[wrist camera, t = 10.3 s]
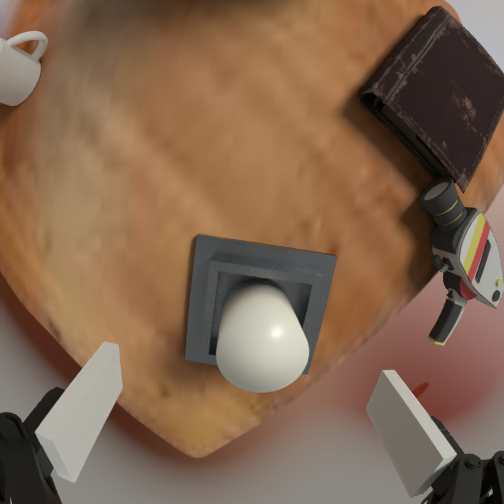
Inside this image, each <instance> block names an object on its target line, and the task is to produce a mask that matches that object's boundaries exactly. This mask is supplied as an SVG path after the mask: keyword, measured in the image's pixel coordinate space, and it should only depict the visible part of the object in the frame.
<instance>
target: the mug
mask: <svg viewBox="0 0 504 504" xmlns="http://www.w3.org/2000/svg"><path fill="white" fill-rule="evenodd" d="M29 40H39V44H38V47H37V49H36V50H35V52H34V53H33V54H32V55H30V54H28V53H27V52H25V51H23V50H21V49H20V48H18V47H16V46H15V45H17V44H20V43H22V42H25V41H29ZM47 45H48V40H47V37H46V36H45V35H44V34H43V33H42V32H39V31H29V32H25V33H21V34H19V35H16V36H14V37H12V38H10V39H9V40H7V41H6V40H4V39H2V38H0V103H3V104H6V105H9V106H16V105H19V104H20V103H22V102H23V101H24V100H26V99H27V98H28V96H29V95H30V94H31V93H32V91H33V90H34V88H35V86H36V84H37V82H38V80H39V77H40V73H41V64H40V62H39V59H40V57H41V56H42V55H43V53H44V52H45V50H46V48H47Z"/></svg>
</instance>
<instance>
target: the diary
mask: <svg viewBox="0 0 504 504" xmlns="http://www.w3.org/2000/svg"><path fill="white" fill-rule="evenodd" d="M357 100H358V102H359V103H360V104H362V105H363V106H364V107H365V108H366V109H367V110H368V111H370V112H371V113H372V114H373V115H374V116H375V117H376V118H377V119H378V120H379V121H380V122H381V123H382V124H383V125H384V126H386V127H387V128H388V129H389V130H390V131H391V132H392V133H393V134H394V135H395V136H396V137H397V138H398V139H399V140H400V141H401V142H402V143H403V145H404V146H405V147H406V148H407V149H408V150H409V151H410V152H411V153H412V154H413V155H414V156H415V157H416V158H417V160H418V161H419V162H420V163H421V164H422V165H423V166H424V167H425V168H426V170H427V171H428V172H429V173H430V174H431V175H432V176H433V177H434V178H435V180H436V181H437V180H439V179H441V178H444V177H451V178H452V179H453V182H454V184H455V183H457V184H458V186H459V187H460V189H461V191H462V193H464V192H465V190H466V188H467V187H468V185H469V183H470V181H471V179H472V177H473V175H474V173H475V171H476V169H477V167H478V165H479V163H480V161H481V159H482V157H483V155H484V153H485V151H486V149H487V146H488V144H489V142H490V140H491V137H492V135H493V133H494V131H495V129H496V127H497V124H498V122H499V120H500V118H501V116H502V114H503V111H504V73H503V72H502V71H501V69H500V68H499V67H498V65H497V64H496V62H495V61H494V60H493V59H492V57H491V56H490V55H489V54H488V53H487V51H486V50H485V49H484V48H483V46H482V45H481V44H480V43H479V42H478V41H477V40H476V39H475V38H474V37H473V36H472V35H471V34H470V32H469V31H468V30H467V29H465V28H464V27H463V26H462V25H461V24H460V23H459V22H458V21H457V20H456V19H455V18H454V17H453V16H451V15H450V13H449V12H447V11H446V10H445V9H444V8H443V7H442V6H434V7H432V8H431V9H430V10H429V11H428V12H427V13H426V15H425V16H424V17H423V18H422V19H421V21H420V22H419V23H418V24H417V26H416V27H415V28H414V29H413V30H412V31H411V32H410V33H409V34H408V35H407V36H406V38H405V39H404V40H403V41H402V42H401V43H400V44H399V45H398V47H397V48H396V49H395V50H394V52H393V53H392V54H391V55H390V57H389V58H388V59H387V60H386V62H385V63H384V64H383V65H382V67H381V68H380V69H379V70H378V71H377V72H376V73H375V74H374V75H373V77H372V78H371V79H370V80H369V81H368V82H367V83H366V84H365V85H364V87H363V88H362V89H361V91H360V94H359V96H358V99H357Z"/></svg>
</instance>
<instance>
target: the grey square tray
mask: <svg viewBox="0 0 504 504" xmlns="http://www.w3.org/2000/svg"><path fill="white" fill-rule="evenodd" d="M336 260H337V256H336V255H334V254H327V253H321V252H314V251H308V250H302V249H295V248H289V247H282V246H276V245H269V244H262V243H256V242H249V241H242V240H236V239H229V238H222V237H215V236H209V235H202V234H198V235H197V240H196V248H195V256H194V265H193V274H192V283H191V293H190V303H189V314H188V325H187V337H186V351H185V360H186V361H191V362H197V363H204V364H210V365H217V361H216V350H217V343H218V336H219V329H220V323H221V316H222V309H223V304H224V301H225V299H226V297H227V296H228V294H229V293H230V292H231V291H232V290H233V289H234V288H235V287H237V286H238V285H240V284H242V283H244V282H248V281H252V280H263V281H267V282H270V283H273V284H275V285H276V286H278V287H279V288H280V289H282V290H283V292H284V293H285V294H286V296H287V297H288V300H289V302H290V304H291V306H292V308H293V310H294V313H295V315H296V317H297V319H298V321H299V324H300V326H301V328H302V330H303V333H304V335H305V337H306V339H307V342H308V346H309V357H308V362H307V364H306V367H305V369H304V370H303V372H302V373H301V374H308V371H309V368H310V364H311V361H312V357H313V354H314V350H315V347H316V343H317V339H318V336H319V332H320V328H321V324H322V320H323V316H324V312H325V308H326V304H327V300H328V296H329V292H330V287H331V283H332V279H333V274H334V269H335V265H336ZM217 366H218V365H217Z"/></svg>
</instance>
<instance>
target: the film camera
mask: <svg viewBox="0 0 504 504" xmlns="http://www.w3.org/2000/svg"><path fill="white" fill-rule="evenodd" d="M419 203H420V204H421V205H422V206H423V207H424V208H425V209H426V210H427V211H428V212H429V213H430V214H431V215H432V217H433V219H434V221H435V222H436V224H437V226H436V227H435V228H434V230H433V232H432V235H431V241H432V244H433V248H432V252H433V254H434V256H433V257H432V258H431V261H432V263H433V265H434V266H435V268H436V269H437V270H439V271H440V272H443V282H444V285H445V287H446V289H447V290H448V294H447V296H448V299H446V302H445V305H444V307H443V309H442V312H441V314H440V316H439V318H438V320H437V322H436V324H435V325H434V327H433V329H432V330H431V332H430V334H429V337H428V338H429V339H430V340H431V341H432V342H433V343H435V344H439V345H444V344H445V342H446V341H447V339H448V338H449V336H450V335H451V333H452V332H453V330H454V328H455V327H456V325H457V323H458V321H459V319H460V317H461V315H462V313H463V311H464V309H465V306H466V304H467V301H468V300H470V299H473V298H474V299H476V300H478V301H480V302H482V303H484V304H486V305H488V306H490V307H492V308H494V309H496V307H497V305H498V303H499V301H500V299H501V297H502V295H503V292H504V279H503V270H502V263H501V257H500V252H499V248H498V244H497V241H496V239H495V236H494V234H493V231H492V229H491V227H490V225H489V223H488V221H487V220H486V218H485V216H484V214H483V212H482V211H481V210H477V209H476V208H469V207H464V206H463V204H462V202H461V200H460V198H459V196H458V194H457V190H456V187H455V185H454V182H453V179H452V178H451V177H444V178H441V179H439V180H437V181H435V182H434V183H432V184H431V185H429V186H428V187H427V188H426V189H425V190H424V191H423V192H422V193H421V195H420V197H419Z"/></svg>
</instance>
